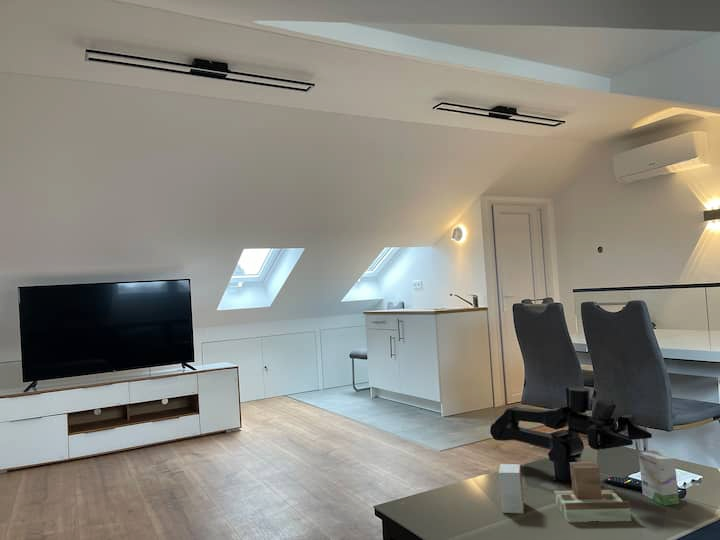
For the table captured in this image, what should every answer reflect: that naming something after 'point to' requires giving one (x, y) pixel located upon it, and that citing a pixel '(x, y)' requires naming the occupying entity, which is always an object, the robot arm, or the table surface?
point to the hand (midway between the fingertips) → (642, 439)
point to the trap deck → (593, 507)
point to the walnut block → (585, 480)
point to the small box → (511, 488)
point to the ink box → (658, 477)
